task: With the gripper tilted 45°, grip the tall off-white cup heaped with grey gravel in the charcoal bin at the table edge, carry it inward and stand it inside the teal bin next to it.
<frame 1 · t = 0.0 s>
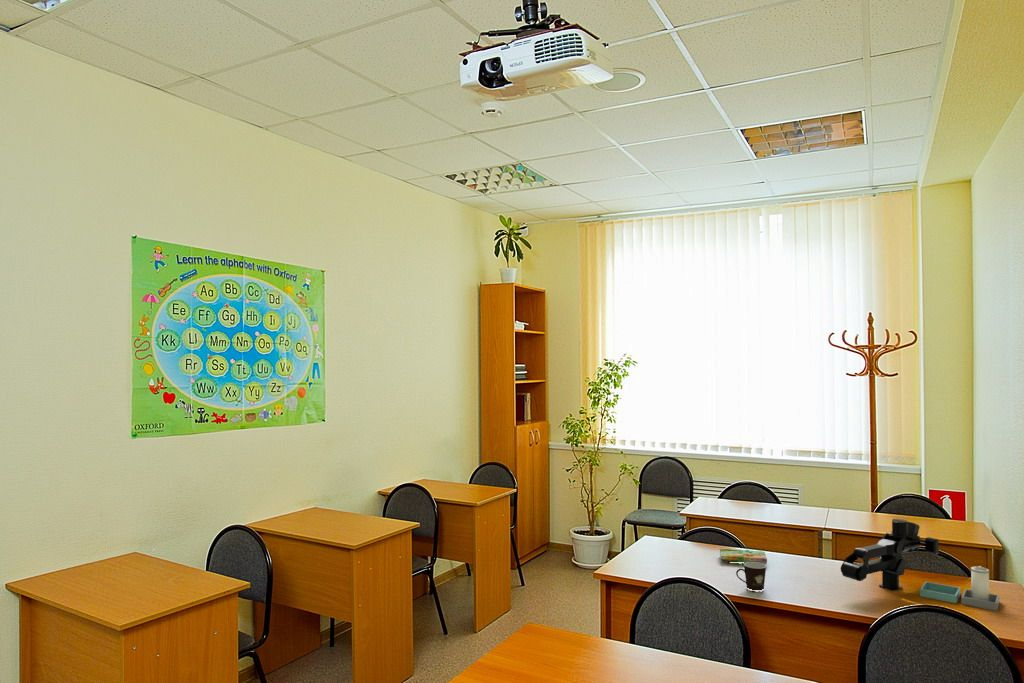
hand: (925, 538, 292), 17 cm above the table, tool horizontal, fingers open, 9 cm apart
puzzle game: (742, 562, 315), on the table
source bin: (980, 605, 260), on the table
coffee mug: (751, 589, 278), on the table
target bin: (940, 597, 268), on the table
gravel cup: (980, 603, 260), point 1 cm above the table, touching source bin
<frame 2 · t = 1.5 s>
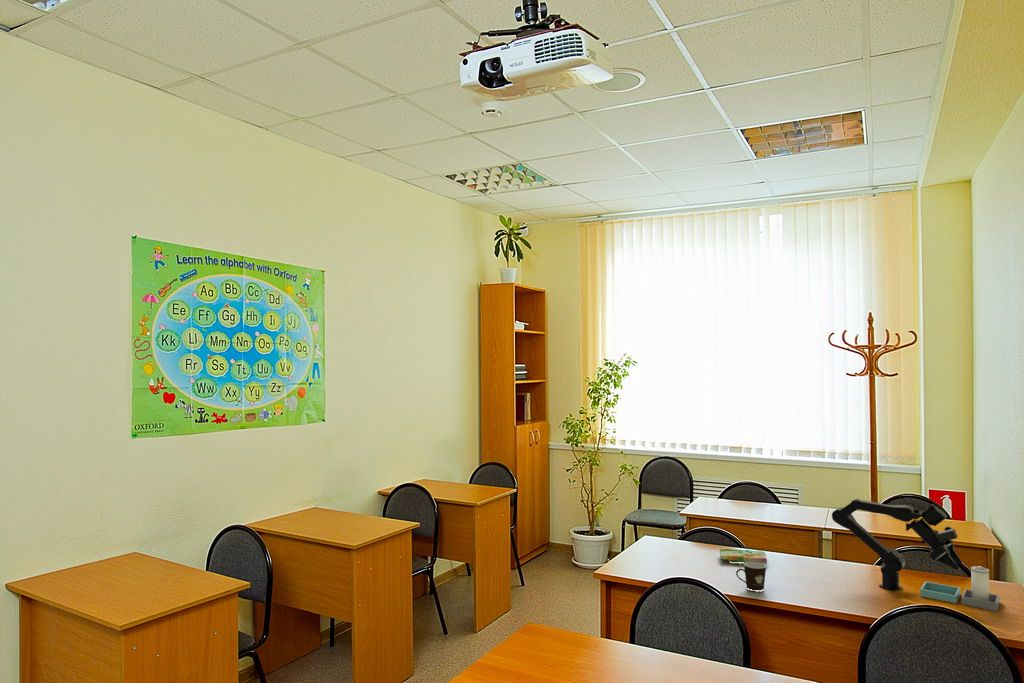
hand: (959, 566, 264), 14 cm above the table, tool tilted 45°, fingers open, 9 cm apart
nothing on the table moved.
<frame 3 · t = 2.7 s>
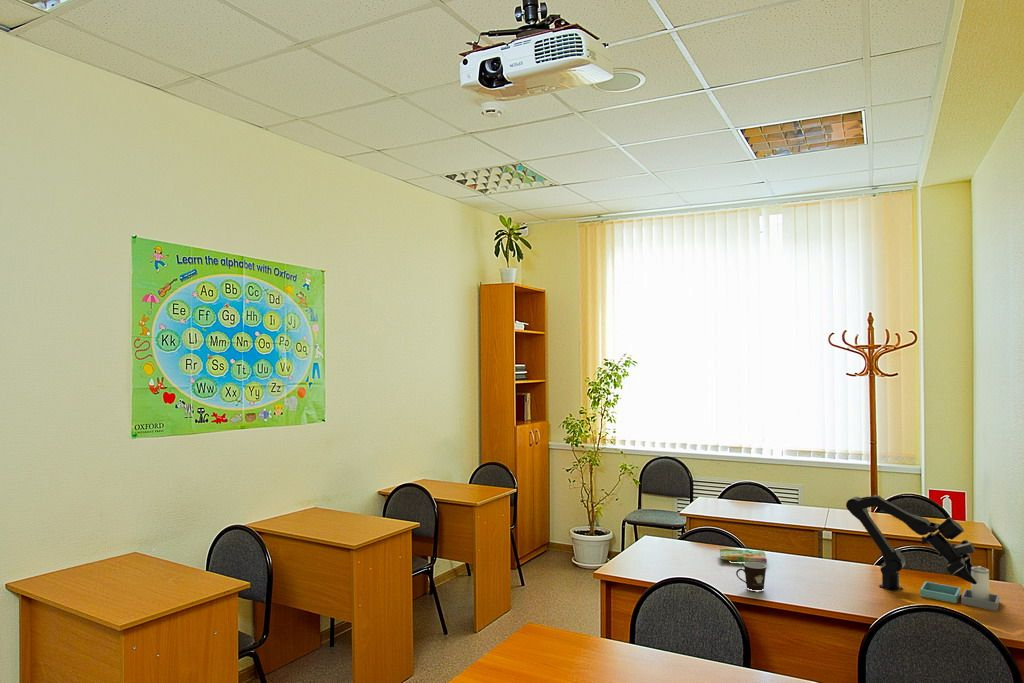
hand: (977, 580, 261), 9 cm above the table, tool tilted 45°, fingers open, 9 cm apart
nothing on the table moved.
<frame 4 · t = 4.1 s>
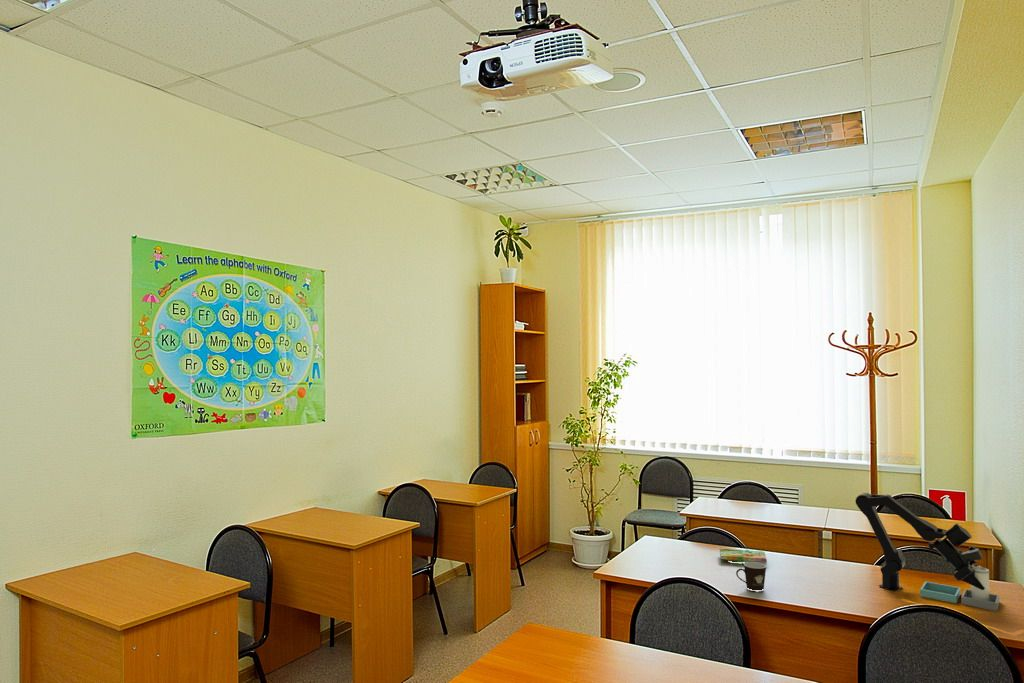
hand: (984, 587, 259), 7 cm above the table, tool tilted 45°, fingers closed on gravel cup, 6 cm apart
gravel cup: (980, 603, 260), point 1 cm above the table, touching gripper, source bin
everything else where it was.
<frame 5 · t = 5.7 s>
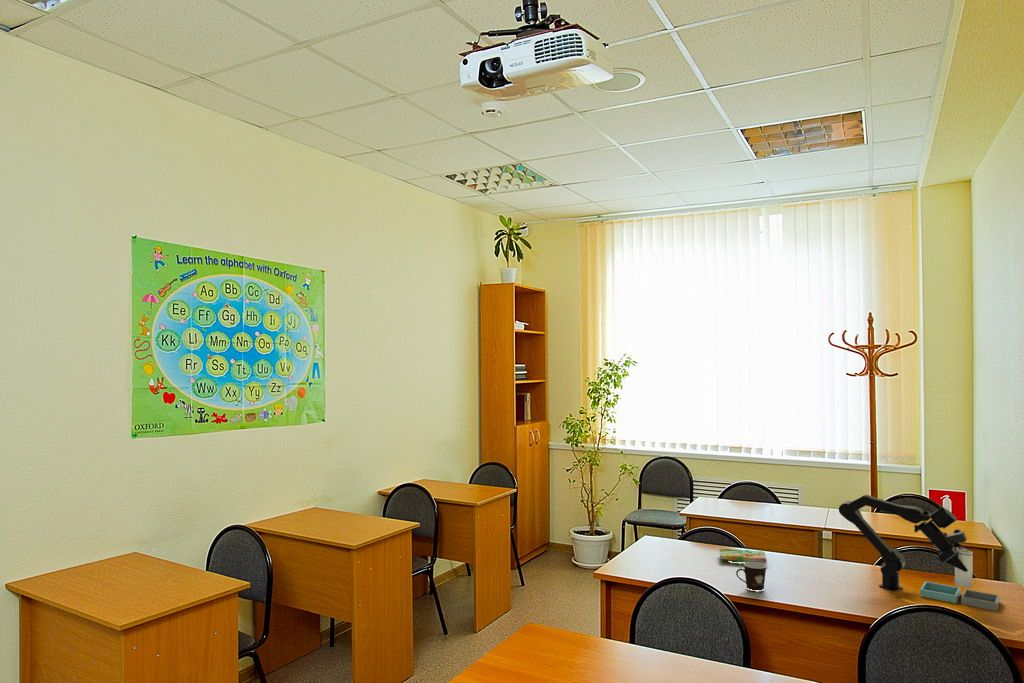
hand: (967, 569, 263), 13 cm above the table, tool tilted 45°, fingers closed on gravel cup, 6 cm apart
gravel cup: (963, 584, 264), point 7 cm above the table, touching gripper
everything else where it was.
when the fingers open (8 cm above the table, at t = 7.8 s): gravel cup drops 1 cm, resting on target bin.
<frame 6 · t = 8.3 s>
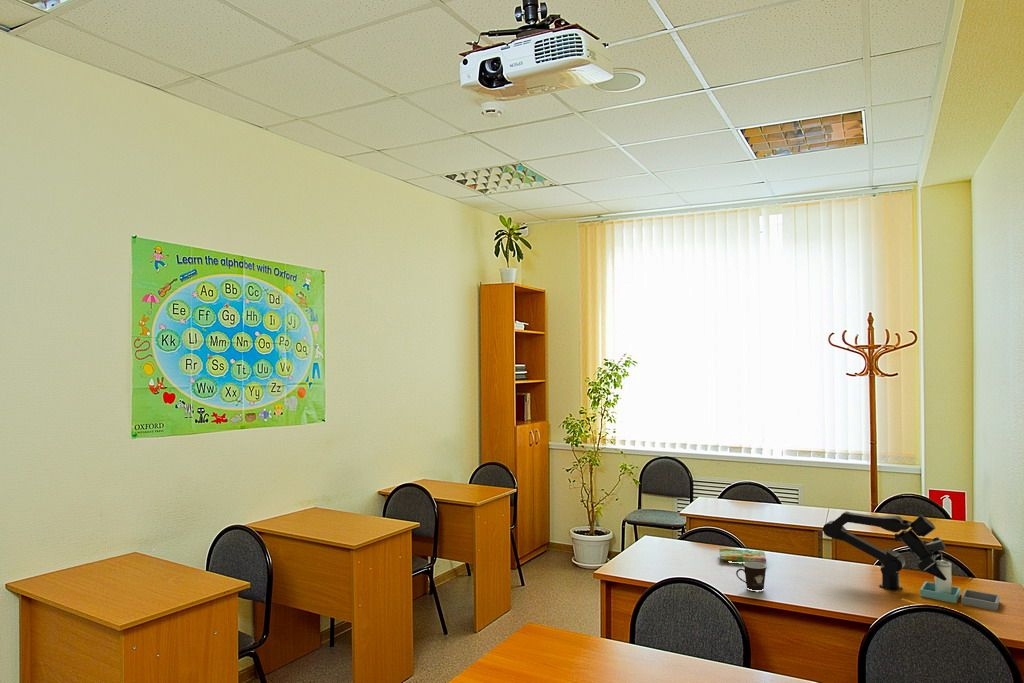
hand: (947, 576, 267), 9 cm above the table, tool tilted 45°, fingers open, 9 cm apart
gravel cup: (943, 595, 268), point 1 cm above the table, touching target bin
everything else where it was.
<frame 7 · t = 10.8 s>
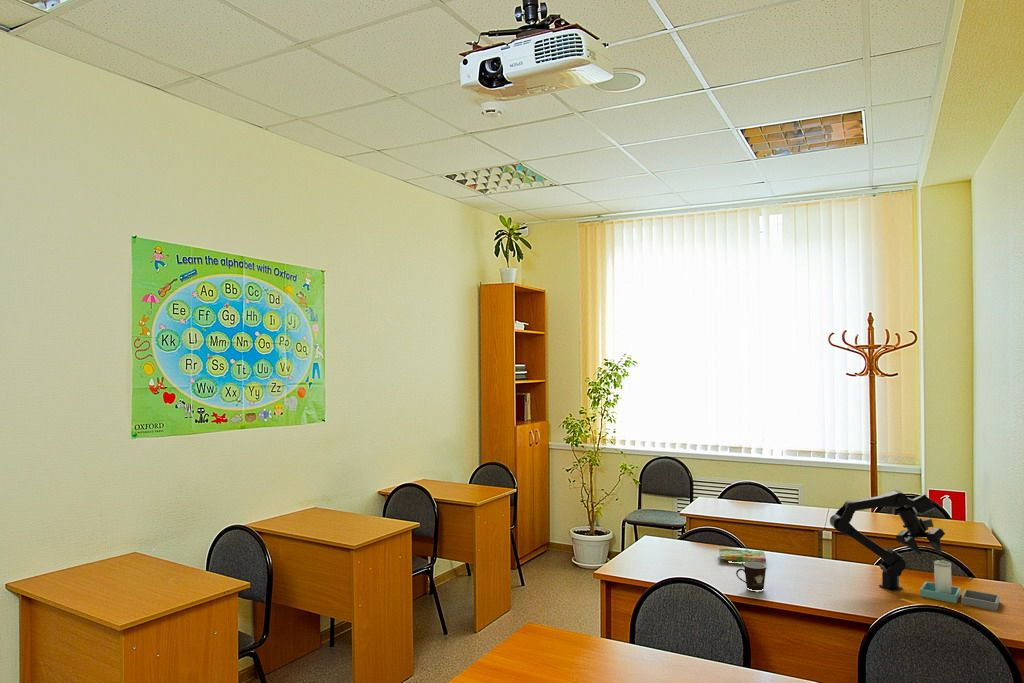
hand: (930, 554, 277), 14 cm above the table, tool tilted 30°, fingers open, 9 cm apart
nothing on the table moved.
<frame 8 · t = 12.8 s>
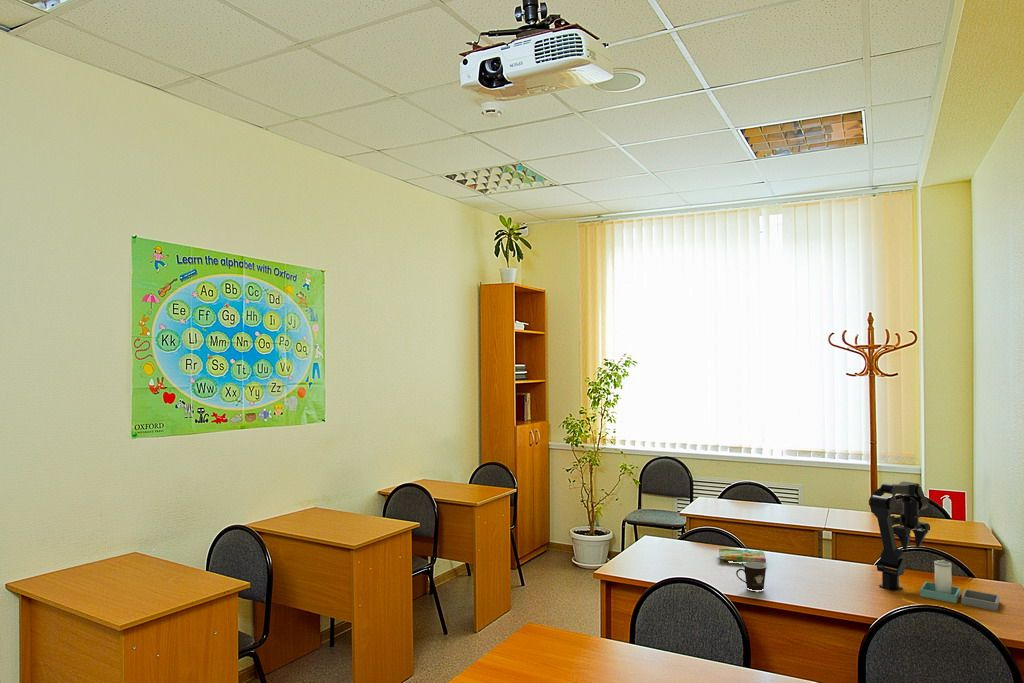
hand: (911, 548, 290), 13 cm above the table, tool pointing down, fingers open, 9 cm apart
nothing on the table moved.
at the end: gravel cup 0.9 cm off-centre on the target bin, point 0.8 cm above the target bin's base; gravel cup tilted 1°; the gripper is holding nothing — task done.
